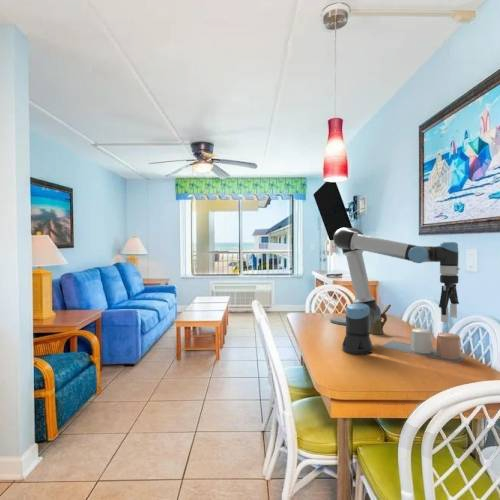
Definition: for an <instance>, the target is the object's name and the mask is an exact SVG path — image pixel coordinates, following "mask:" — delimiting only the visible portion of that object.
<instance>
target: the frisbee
mask: <svg viewBox="0 0 500 500" xmlns="http://www.w3.org/2000/svg"><path fill="white" fill-rule="evenodd" d="M330 323H331V324H335V325H340V326H346V316H336V317H335V316H334V317H331V318H330Z"/></svg>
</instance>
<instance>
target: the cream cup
mask: <svg viewBox="0 0 500 500" xmlns="http://www.w3.org/2000/svg"><path fill="white" fill-rule="evenodd" d="M433 338H434V333H433V331H432V330H431V329H426V328H419V327H417V328H412V329H411V331H410V344H411V350H412V351H414V352H418V353H432V352H433V349H434V348H433V347H434V345H433V344H434V343H433V341H434V339H433Z"/></svg>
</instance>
